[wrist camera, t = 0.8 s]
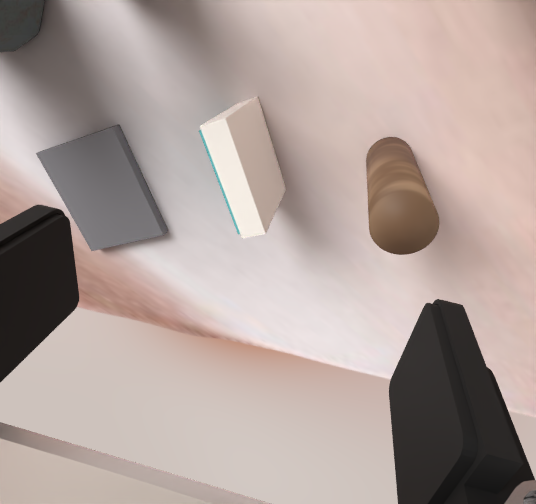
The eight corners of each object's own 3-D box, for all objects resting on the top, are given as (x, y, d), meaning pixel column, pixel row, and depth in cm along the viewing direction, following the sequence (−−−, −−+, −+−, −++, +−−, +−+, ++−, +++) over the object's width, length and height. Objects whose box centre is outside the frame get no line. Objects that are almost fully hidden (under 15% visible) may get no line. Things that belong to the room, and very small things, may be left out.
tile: (257, 96, 35) (225, 118, 27) (286, 189, 39) (265, 233, 30) (234, 104, 36) (195, 127, 27) (264, 194, 40) (238, 239, 31)
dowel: (408, 131, 34) (434, 187, 22) (415, 175, 36) (442, 248, 24) (362, 143, 35) (363, 202, 23) (370, 185, 37) (375, 259, 25)
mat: (118, 124, 39) (112, 127, 38) (167, 230, 44) (163, 235, 43) (43, 150, 42) (36, 153, 41) (97, 246, 47) (91, 251, 46)
